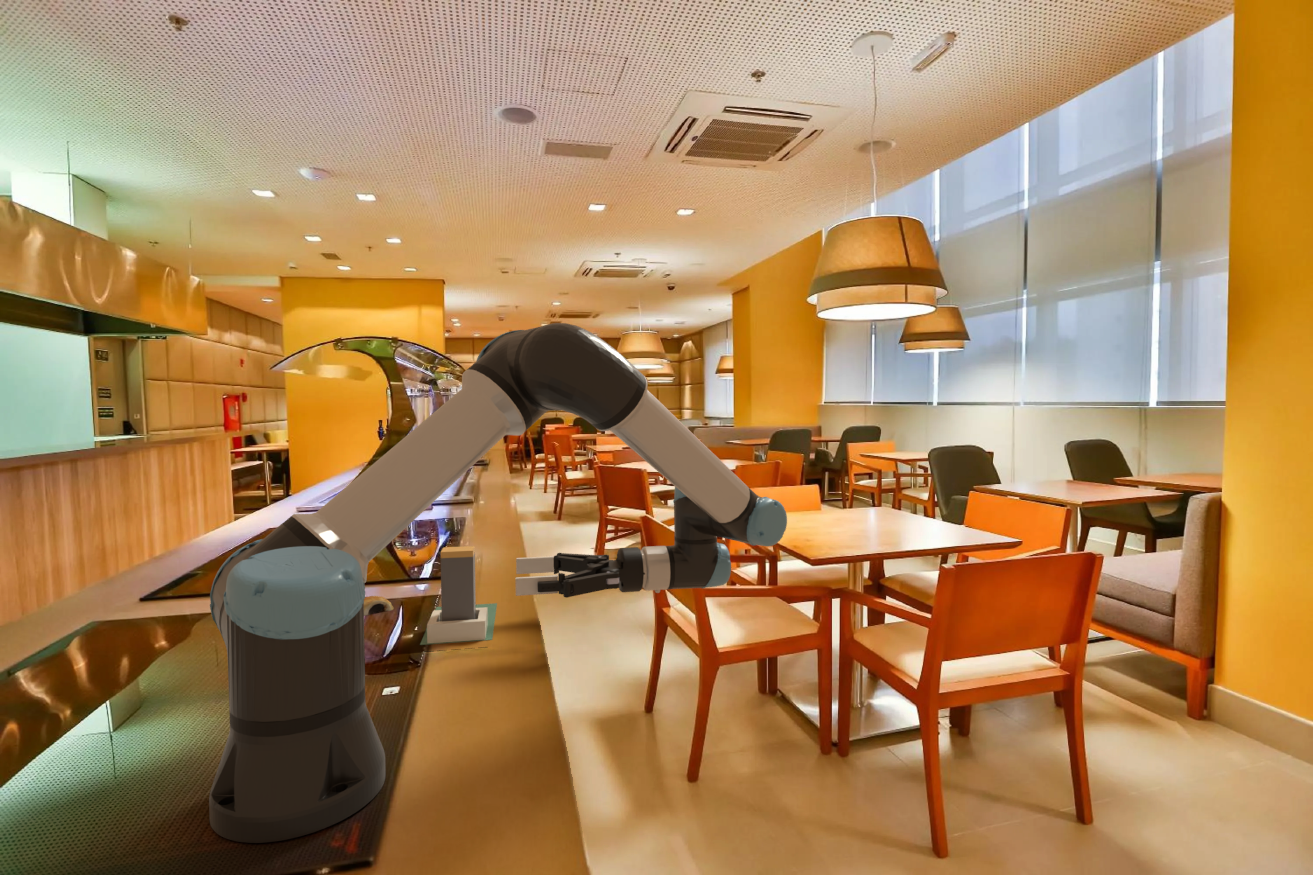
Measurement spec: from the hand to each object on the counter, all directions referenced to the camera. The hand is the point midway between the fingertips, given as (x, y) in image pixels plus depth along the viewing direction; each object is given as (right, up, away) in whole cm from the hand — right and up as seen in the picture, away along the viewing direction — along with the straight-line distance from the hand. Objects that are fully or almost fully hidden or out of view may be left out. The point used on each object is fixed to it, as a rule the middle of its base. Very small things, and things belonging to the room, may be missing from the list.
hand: (515, 575), depth 108 cm
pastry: (-30, -10, +12) cm, 34 cm away
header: (-9, -9, -2) cm, 13 cm away
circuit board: (-10, -10, +4) cm, 15 cm away
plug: (-9, -9, -2) cm, 13 cm away
